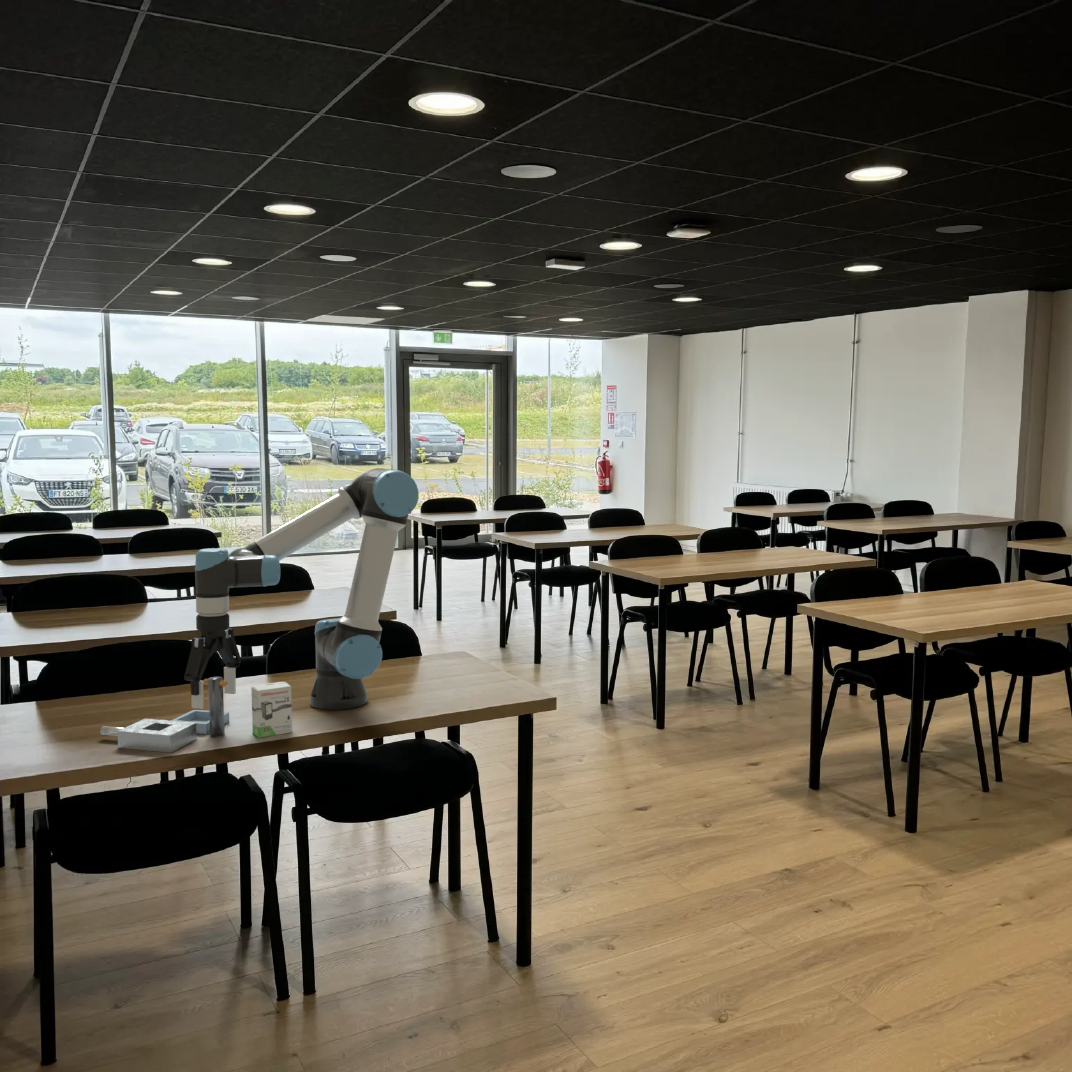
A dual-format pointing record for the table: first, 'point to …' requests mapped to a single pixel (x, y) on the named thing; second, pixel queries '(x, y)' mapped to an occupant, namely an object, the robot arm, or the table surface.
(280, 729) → the ink box
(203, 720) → the parts tray
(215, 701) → the pin
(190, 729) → the block
